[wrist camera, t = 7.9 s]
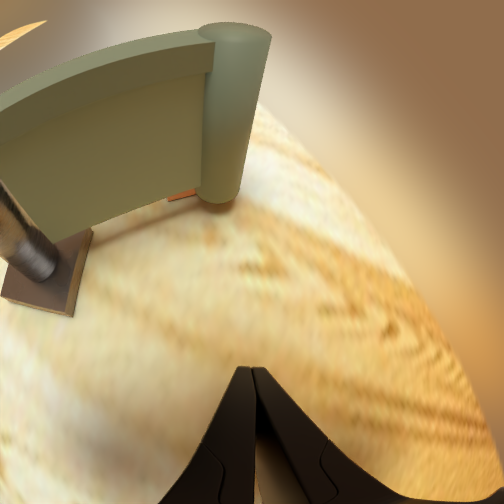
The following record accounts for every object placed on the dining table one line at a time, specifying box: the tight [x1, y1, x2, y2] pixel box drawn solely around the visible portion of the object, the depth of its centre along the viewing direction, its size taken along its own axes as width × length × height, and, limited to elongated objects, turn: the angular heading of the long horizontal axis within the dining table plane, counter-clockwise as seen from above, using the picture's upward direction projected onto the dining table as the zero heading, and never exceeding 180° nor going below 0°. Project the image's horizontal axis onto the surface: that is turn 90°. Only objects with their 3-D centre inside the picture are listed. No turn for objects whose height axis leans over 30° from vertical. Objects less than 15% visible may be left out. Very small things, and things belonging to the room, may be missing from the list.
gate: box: [0, 22, 272, 244], centre depth 12 cm, size 12×3×10 cm, turn 117°
